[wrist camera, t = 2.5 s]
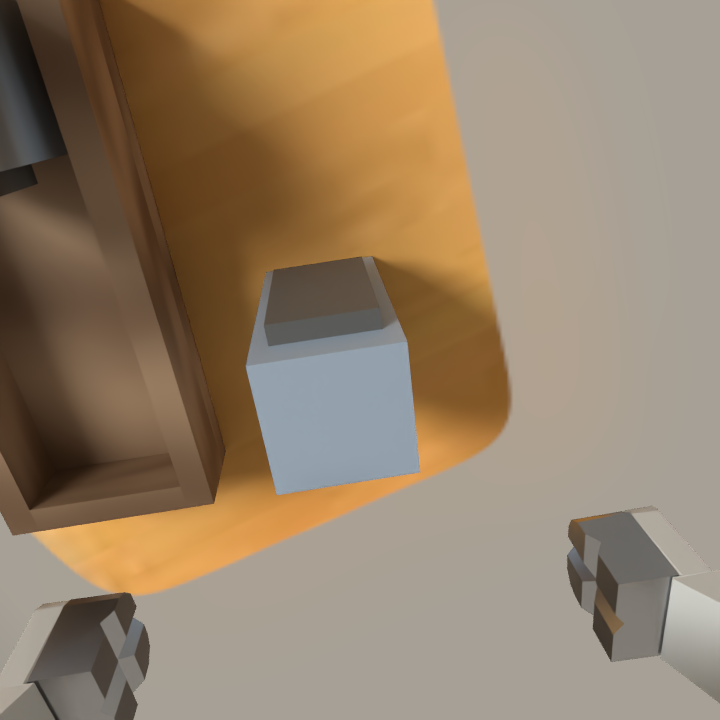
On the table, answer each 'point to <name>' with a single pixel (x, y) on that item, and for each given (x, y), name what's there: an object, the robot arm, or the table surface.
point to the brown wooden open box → (87, 294)
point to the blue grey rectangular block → (331, 377)
